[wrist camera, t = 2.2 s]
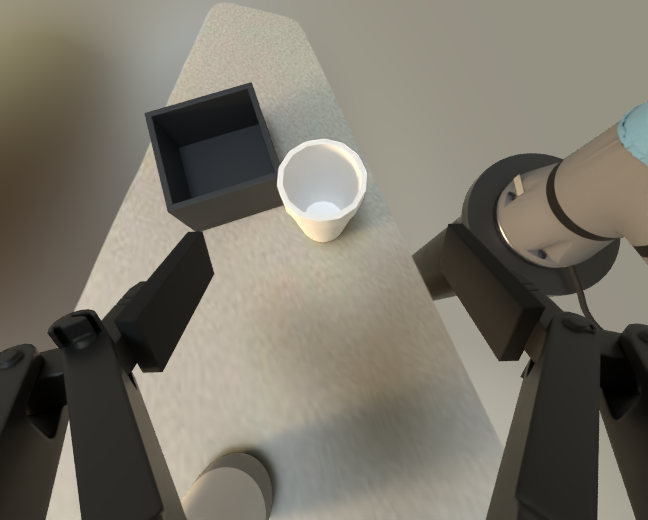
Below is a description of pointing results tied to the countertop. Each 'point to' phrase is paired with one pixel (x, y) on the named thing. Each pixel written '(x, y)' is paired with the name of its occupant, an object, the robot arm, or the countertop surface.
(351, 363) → the countertop surface
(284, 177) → the foam cup
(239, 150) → the dark grey open box
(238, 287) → the countertop surface
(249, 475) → the smart speaker
